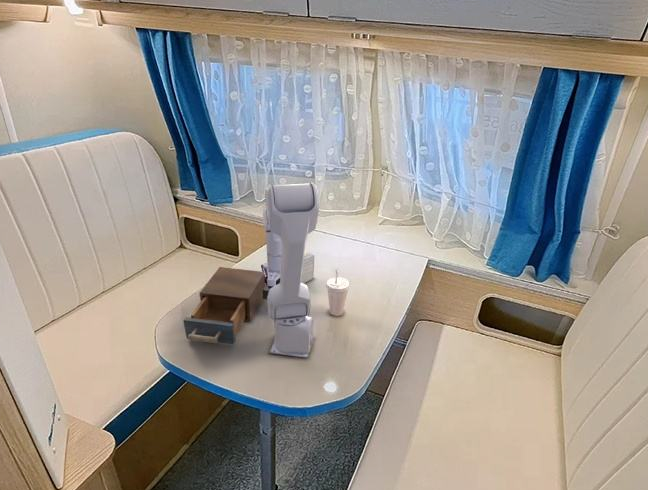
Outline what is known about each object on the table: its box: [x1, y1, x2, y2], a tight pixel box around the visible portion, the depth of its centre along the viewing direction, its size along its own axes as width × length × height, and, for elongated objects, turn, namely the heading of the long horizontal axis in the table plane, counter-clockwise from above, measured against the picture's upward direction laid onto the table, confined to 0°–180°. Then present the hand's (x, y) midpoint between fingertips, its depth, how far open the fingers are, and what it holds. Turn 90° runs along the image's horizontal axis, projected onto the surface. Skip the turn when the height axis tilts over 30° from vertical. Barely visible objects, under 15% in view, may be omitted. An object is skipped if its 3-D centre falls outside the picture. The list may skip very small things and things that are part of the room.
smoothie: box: [326, 268, 351, 317], centre depth 119 cm, size 6×6×14 cm
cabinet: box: [199, 266, 266, 323], centre depth 121 cm, size 15×14×8 cm
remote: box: [262, 284, 269, 300], centre depth 119 cm, size 4×8×3 cm, turn 82°
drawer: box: [183, 296, 247, 346], centre depth 110 cm, size 18×12×6 cm
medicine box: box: [301, 251, 315, 284], centre depth 134 cm, size 8×4×9 cm, turn 141°
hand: (279, 295), depth 120 cm, fingers closed on remote, 4 cm apart
